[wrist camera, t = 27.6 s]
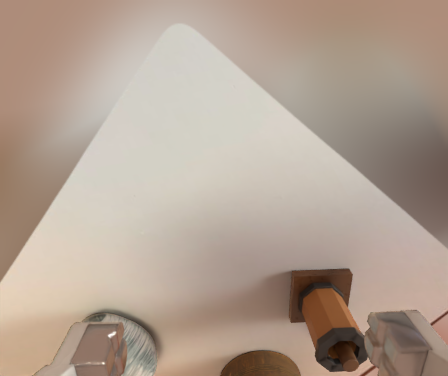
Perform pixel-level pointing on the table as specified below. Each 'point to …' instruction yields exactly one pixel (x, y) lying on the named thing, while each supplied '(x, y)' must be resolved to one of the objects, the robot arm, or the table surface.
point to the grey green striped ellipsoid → (133, 345)
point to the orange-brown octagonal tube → (330, 324)
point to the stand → (343, 283)
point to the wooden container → (261, 365)
